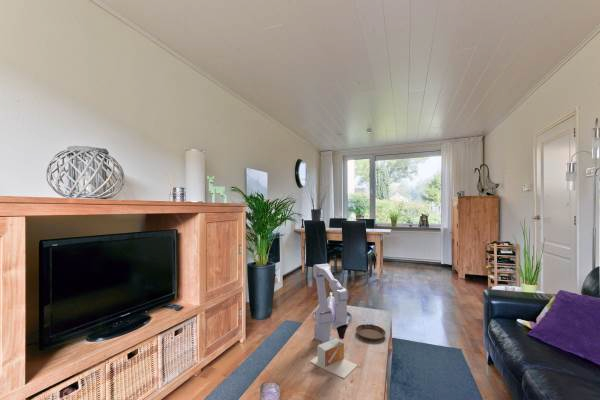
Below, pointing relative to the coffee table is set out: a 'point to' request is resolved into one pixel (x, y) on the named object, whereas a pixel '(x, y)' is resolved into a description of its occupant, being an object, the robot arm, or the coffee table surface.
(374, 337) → the plant saucer
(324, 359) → the small box
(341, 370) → the mat
